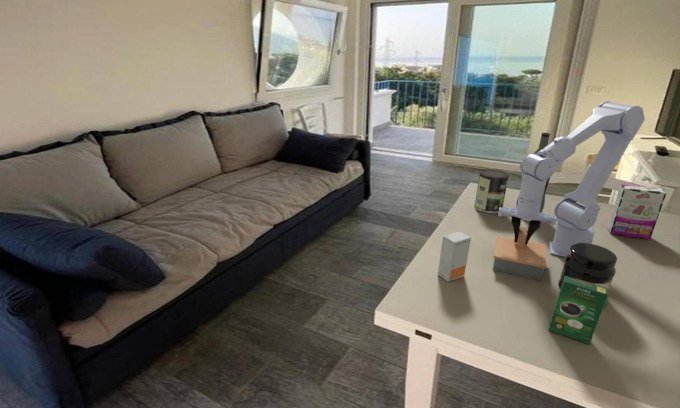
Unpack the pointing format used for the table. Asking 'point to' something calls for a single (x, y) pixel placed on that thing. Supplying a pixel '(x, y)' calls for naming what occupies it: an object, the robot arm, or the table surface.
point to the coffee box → (578, 309)
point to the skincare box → (454, 256)
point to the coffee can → (491, 190)
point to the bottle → (542, 145)
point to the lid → (520, 250)
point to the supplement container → (589, 264)
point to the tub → (518, 269)
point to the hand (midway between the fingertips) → (520, 242)
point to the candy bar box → (636, 211)
